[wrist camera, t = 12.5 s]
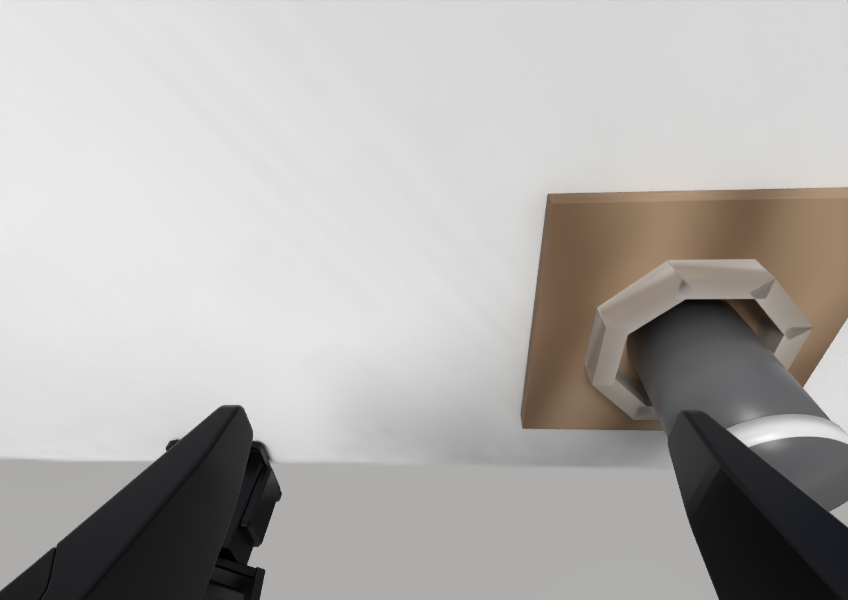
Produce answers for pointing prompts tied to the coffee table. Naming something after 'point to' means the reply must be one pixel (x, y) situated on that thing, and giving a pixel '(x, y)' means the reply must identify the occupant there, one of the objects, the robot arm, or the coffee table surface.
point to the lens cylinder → (740, 393)
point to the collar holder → (675, 288)
